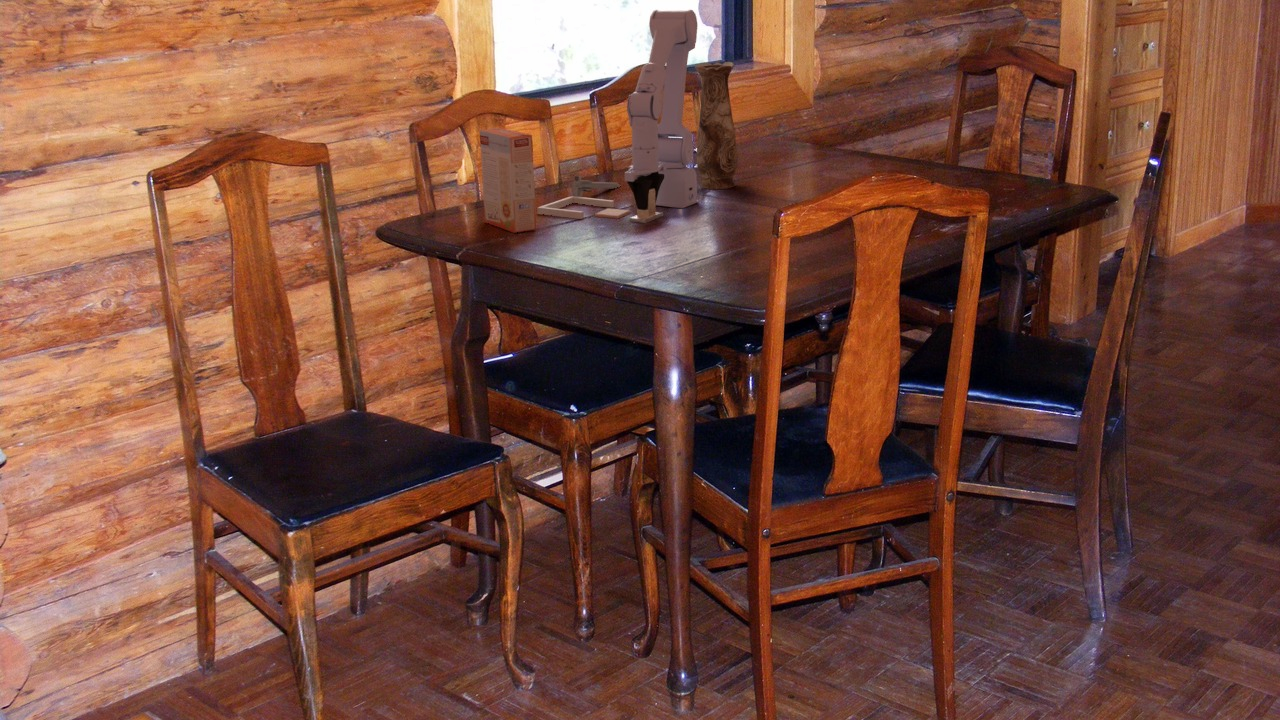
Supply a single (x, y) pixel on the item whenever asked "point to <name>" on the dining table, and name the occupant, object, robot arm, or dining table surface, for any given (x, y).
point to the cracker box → (508, 179)
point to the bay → (553, 207)
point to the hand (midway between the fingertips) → (646, 207)
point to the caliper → (589, 186)
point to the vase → (716, 128)
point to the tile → (612, 213)
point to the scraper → (648, 214)
